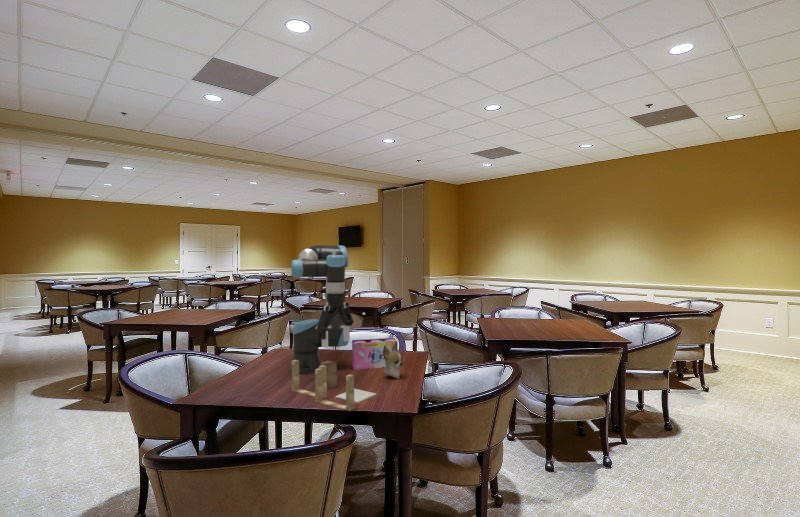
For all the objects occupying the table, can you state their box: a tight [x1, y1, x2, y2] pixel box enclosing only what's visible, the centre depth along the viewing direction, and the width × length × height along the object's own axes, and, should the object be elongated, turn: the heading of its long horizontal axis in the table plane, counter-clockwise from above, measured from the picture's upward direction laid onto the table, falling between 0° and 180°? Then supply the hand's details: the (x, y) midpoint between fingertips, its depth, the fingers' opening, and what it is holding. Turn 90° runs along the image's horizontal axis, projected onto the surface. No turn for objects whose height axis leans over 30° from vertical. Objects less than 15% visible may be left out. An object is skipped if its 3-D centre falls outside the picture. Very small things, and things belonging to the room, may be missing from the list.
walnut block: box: [321, 360, 338, 390], centre depth 173 cm, size 4×4×10 cm
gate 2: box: [314, 368, 355, 412], centre depth 151 cm, size 17×2×12 cm, turn 56°
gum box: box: [351, 337, 399, 370], centre depth 205 cm, size 22×7×13 cm, turn 103°
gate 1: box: [291, 360, 328, 399], centre depth 164 cm, size 17×2×12 cm, turn 56°
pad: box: [334, 388, 377, 404], centre depth 161 cm, size 11×11×1 cm
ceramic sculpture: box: [383, 341, 403, 380], centre depth 186 cm, size 11×9×15 cm
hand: (336, 344), depth 174 cm, fingers open, 13 cm apart
